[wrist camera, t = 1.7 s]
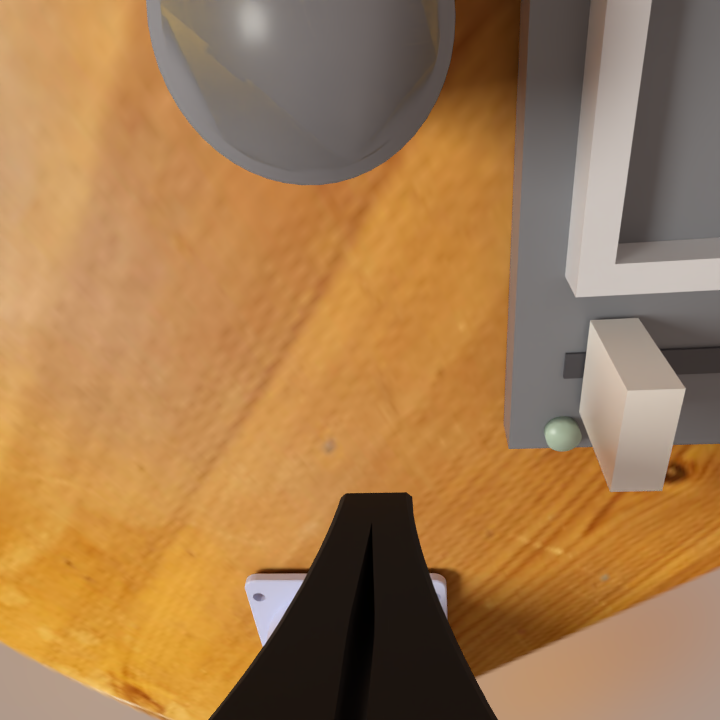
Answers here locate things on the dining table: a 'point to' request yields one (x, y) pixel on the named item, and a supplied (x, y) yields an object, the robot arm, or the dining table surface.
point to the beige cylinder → (304, 78)
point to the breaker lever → (629, 404)
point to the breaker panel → (614, 205)
